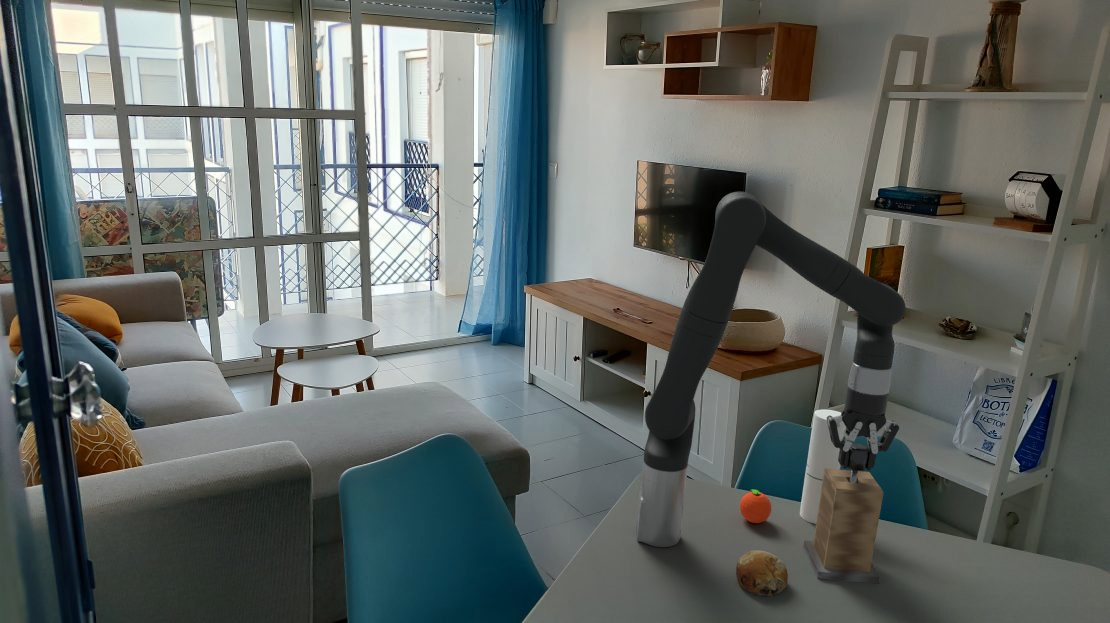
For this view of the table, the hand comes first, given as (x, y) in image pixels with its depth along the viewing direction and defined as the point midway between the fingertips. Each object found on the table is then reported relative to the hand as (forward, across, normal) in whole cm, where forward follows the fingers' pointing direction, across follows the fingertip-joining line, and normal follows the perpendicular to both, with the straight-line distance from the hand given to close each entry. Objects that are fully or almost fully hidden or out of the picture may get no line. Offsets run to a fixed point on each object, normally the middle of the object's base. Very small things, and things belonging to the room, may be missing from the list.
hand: (855, 467), depth 159 cm
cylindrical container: (+22, 0, +20) cm, 30 cm away
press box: (+22, 0, 0) cm, 22 cm away
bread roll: (+22, -18, -9) cm, 30 cm away
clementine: (+22, -15, +16) cm, 31 cm away
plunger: (+20, 0, 0) cm, 20 cm away
